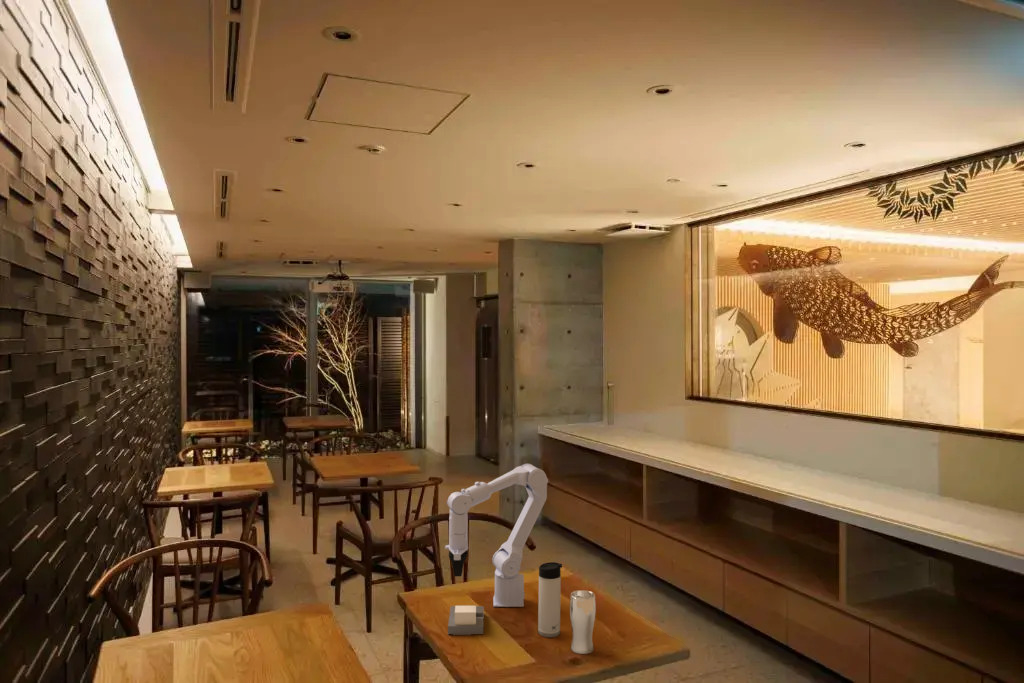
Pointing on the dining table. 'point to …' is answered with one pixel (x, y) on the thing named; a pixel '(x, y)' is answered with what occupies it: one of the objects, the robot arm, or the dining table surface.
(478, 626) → the socket plate
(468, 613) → the plug
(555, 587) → the travel mug
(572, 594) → the beer glass
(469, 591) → the dining table surface
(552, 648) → the dining table surface
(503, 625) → the dining table surface
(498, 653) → the dining table surface
